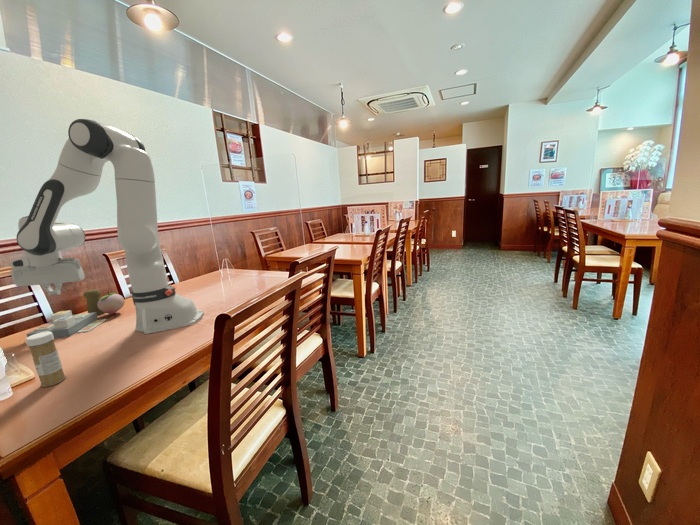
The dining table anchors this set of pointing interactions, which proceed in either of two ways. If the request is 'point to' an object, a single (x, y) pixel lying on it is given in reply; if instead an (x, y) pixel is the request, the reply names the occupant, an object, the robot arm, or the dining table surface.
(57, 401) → the dining table surface
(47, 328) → the key
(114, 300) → the decorative fruit
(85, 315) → the key
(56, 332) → the keypad board
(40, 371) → the sprinkles bottle
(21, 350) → the dining table surface
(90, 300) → the olive green cup
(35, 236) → the robot arm
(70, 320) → the key
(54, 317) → the key
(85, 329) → the strip
